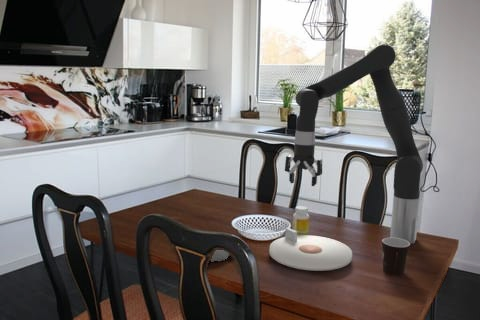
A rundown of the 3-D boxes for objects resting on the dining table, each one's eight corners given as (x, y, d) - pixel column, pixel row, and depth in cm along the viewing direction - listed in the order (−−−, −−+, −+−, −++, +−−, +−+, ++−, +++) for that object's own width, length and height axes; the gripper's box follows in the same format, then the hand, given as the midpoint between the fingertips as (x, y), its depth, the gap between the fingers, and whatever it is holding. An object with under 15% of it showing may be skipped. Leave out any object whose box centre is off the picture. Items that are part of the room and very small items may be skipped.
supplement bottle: (288, 234, 188) (289, 207, 186) (299, 231, 192) (301, 204, 190) (300, 239, 183) (301, 211, 181) (311, 236, 187) (313, 208, 185)
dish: (197, 265, 158) (197, 251, 157) (190, 250, 171) (190, 236, 170) (239, 261, 162) (240, 247, 161) (229, 246, 175) (229, 233, 174)
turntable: (315, 234, 184) (316, 221, 183) (369, 260, 160) (370, 245, 159) (253, 247, 170) (254, 233, 169) (303, 277, 146) (304, 261, 145)
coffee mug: (386, 263, 162) (388, 235, 160) (411, 270, 157) (414, 241, 155) (371, 274, 153) (373, 245, 151) (397, 282, 148) (400, 252, 146)
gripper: (326, 143, 181) (323, 184, 184) (290, 139, 187) (288, 180, 190) (319, 145, 174) (317, 189, 177) (283, 142, 181) (281, 183, 184)
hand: (302, 184), depth 184 cm, fingers open, 8 cm apart
